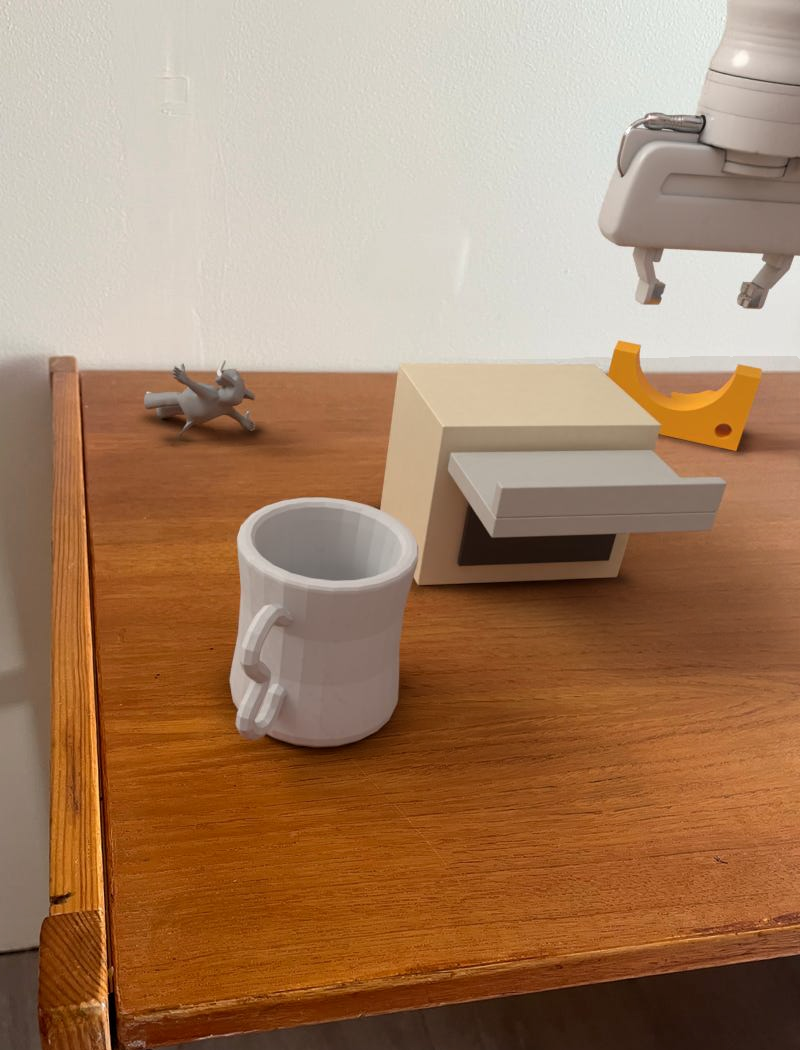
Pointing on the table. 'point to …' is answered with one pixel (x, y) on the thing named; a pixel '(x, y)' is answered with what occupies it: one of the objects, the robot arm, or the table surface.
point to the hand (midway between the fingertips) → (698, 304)
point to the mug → (320, 620)
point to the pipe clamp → (689, 401)
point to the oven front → (529, 473)
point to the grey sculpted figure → (203, 399)
